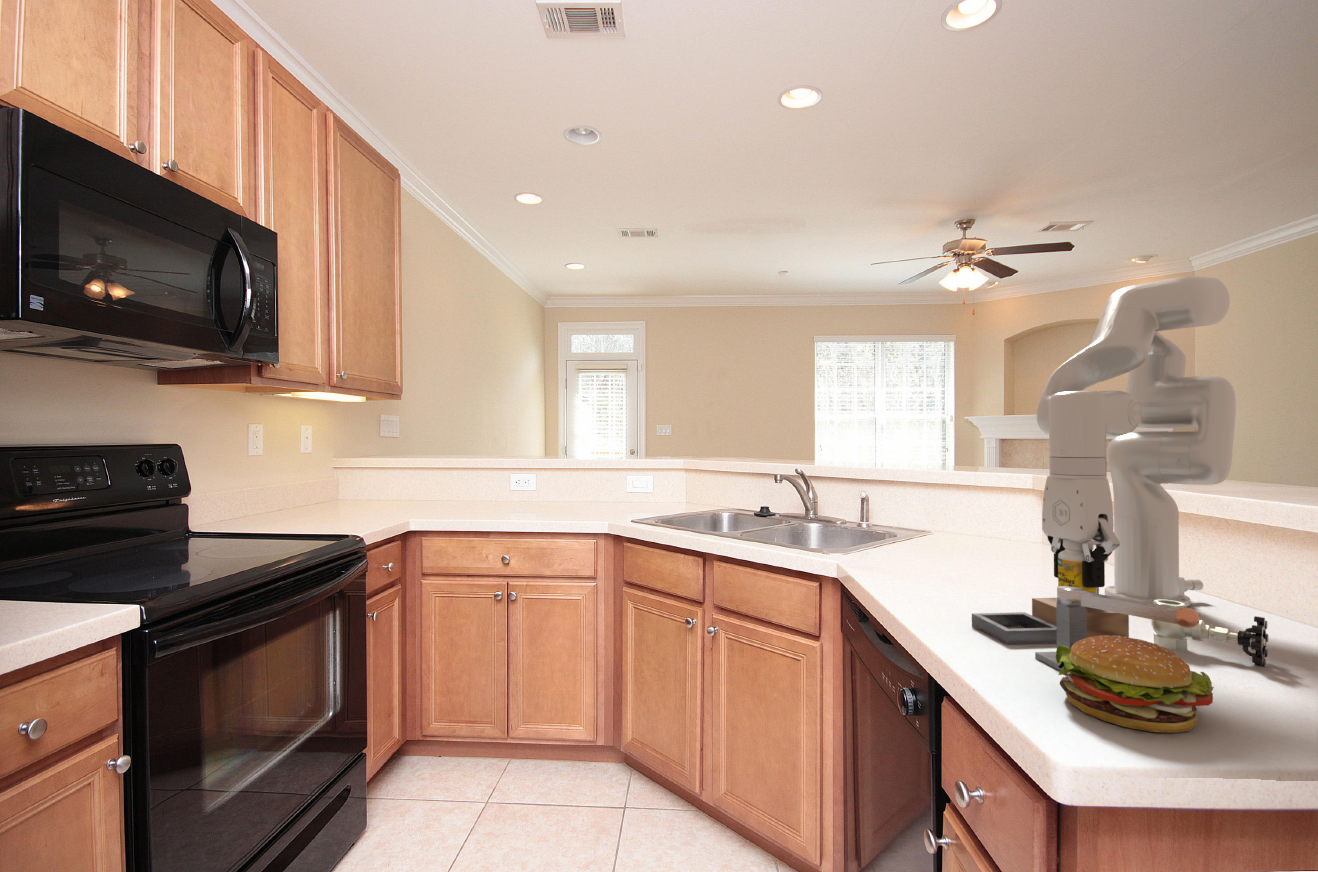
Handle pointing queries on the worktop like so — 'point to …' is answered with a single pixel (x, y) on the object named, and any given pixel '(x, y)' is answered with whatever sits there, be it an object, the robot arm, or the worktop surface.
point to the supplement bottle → (1072, 566)
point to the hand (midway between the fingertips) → (1078, 580)
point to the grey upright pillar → (1066, 631)
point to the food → (1133, 683)
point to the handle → (1127, 606)
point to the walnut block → (1096, 618)
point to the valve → (1211, 635)
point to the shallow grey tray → (1031, 634)
